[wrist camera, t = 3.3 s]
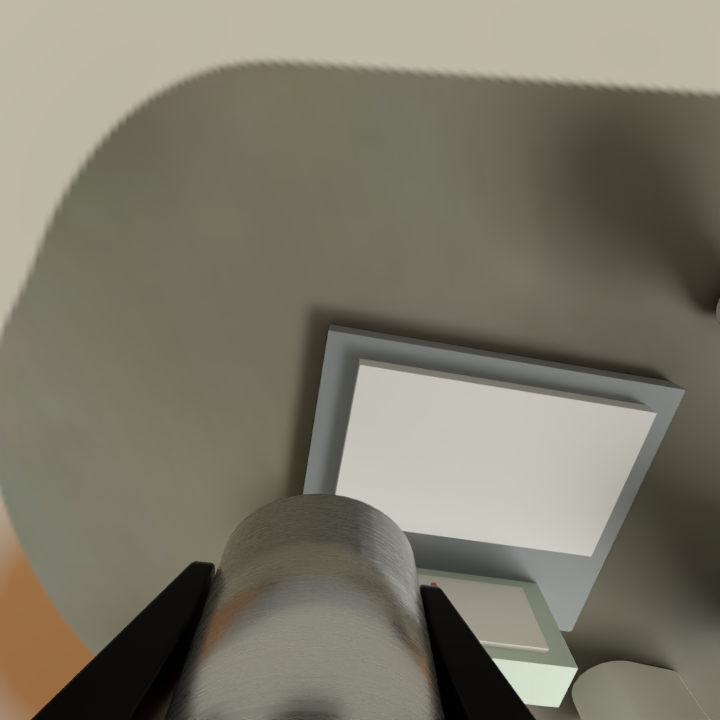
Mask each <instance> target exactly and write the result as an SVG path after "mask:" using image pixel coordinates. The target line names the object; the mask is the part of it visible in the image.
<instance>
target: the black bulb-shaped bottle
mask: <svg viewBox="0 0 720 720" xmlns="http://www.w3.org/2000/svg"><path fill="white" fill-rule="evenodd" d="M716 316H717V320H718V322H719V324H720V299H719V301H718V304H717V309H716Z"/></svg>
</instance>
